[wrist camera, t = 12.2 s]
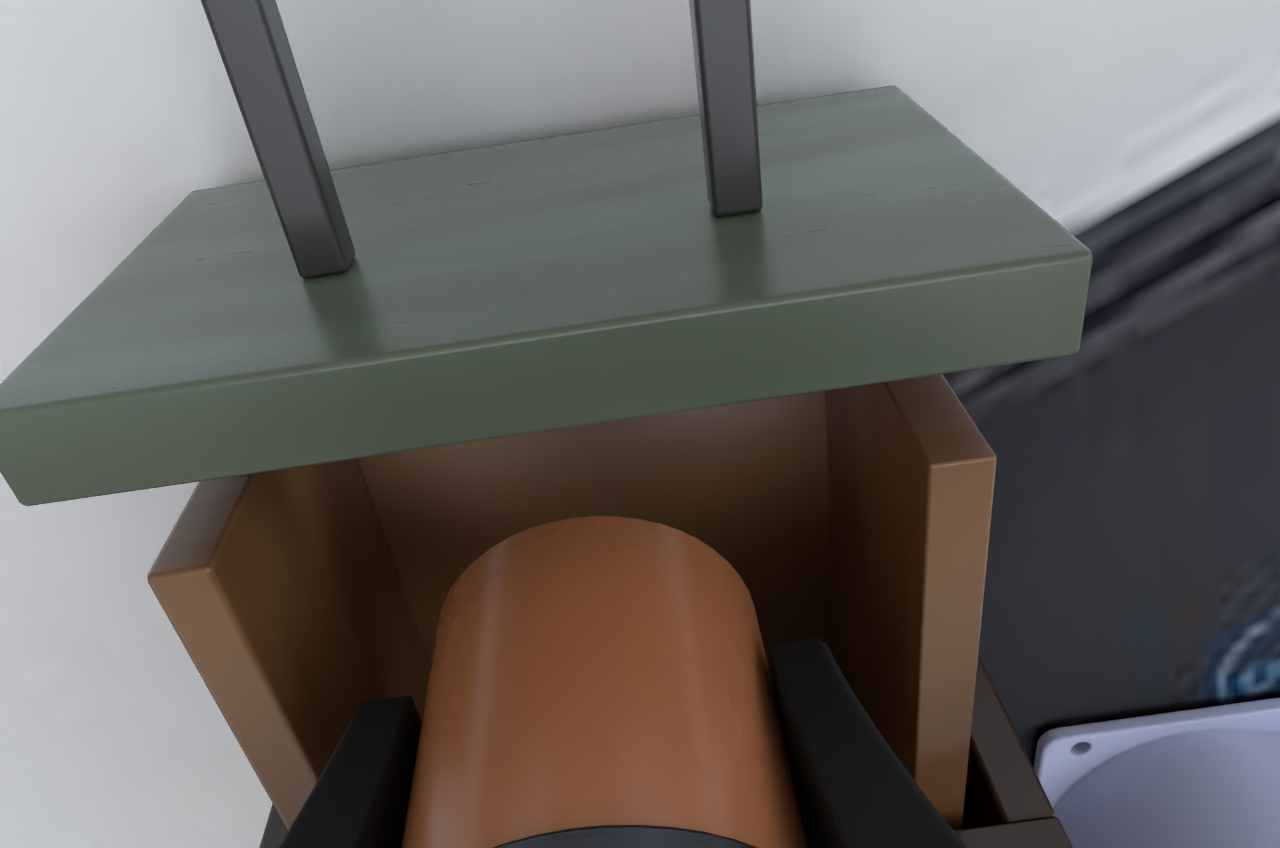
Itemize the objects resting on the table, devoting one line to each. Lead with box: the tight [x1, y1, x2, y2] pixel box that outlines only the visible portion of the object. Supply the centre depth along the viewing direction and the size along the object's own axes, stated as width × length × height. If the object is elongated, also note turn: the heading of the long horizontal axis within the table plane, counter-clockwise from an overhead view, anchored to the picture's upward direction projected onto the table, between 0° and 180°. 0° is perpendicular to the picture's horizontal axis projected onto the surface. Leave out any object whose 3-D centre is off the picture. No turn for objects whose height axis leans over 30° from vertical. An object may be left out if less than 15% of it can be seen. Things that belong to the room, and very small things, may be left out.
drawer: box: [0, 0, 1093, 831], centre depth 14 cm, size 17×11×7 cm, turn 7°
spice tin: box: [401, 516, 810, 848], centre depth 11 cm, size 5×5×5 cm
